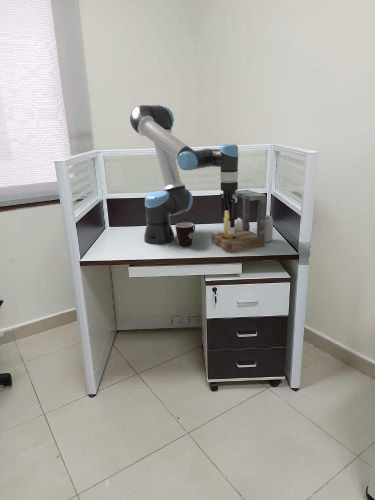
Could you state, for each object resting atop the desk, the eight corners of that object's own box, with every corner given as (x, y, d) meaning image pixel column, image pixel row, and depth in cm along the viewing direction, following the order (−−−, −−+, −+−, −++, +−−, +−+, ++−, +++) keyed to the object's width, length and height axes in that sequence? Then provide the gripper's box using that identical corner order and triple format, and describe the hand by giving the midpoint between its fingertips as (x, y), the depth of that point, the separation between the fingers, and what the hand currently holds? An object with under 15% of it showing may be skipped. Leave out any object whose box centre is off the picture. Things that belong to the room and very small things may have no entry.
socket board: (211, 242, 167) (211, 193, 159) (246, 236, 174) (247, 189, 166) (227, 252, 153) (227, 199, 145) (264, 246, 160) (266, 195, 152)
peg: (223, 239, 162) (223, 210, 158) (230, 238, 164) (230, 209, 159) (227, 242, 159) (227, 212, 154) (234, 241, 160) (235, 211, 155)
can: (272, 243, 163) (273, 218, 159) (256, 242, 165) (256, 218, 161) (271, 238, 170) (273, 214, 166) (256, 237, 171) (257, 214, 167)
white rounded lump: (226, 233, 173) (250, 235, 174) (228, 215, 173) (252, 217, 173) (224, 234, 182) (246, 236, 182) (225, 216, 182) (248, 218, 182)
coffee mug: (181, 249, 159) (180, 228, 156) (173, 244, 167) (172, 224, 163) (203, 244, 164) (202, 224, 161) (194, 240, 172) (193, 220, 168)
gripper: (246, 183, 146) (245, 236, 154) (227, 178, 161) (227, 226, 169) (230, 184, 143) (230, 238, 151) (213, 179, 158) (213, 229, 166)
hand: (229, 232), depth 160 cm, fingers closed on peg, 4 cm apart
